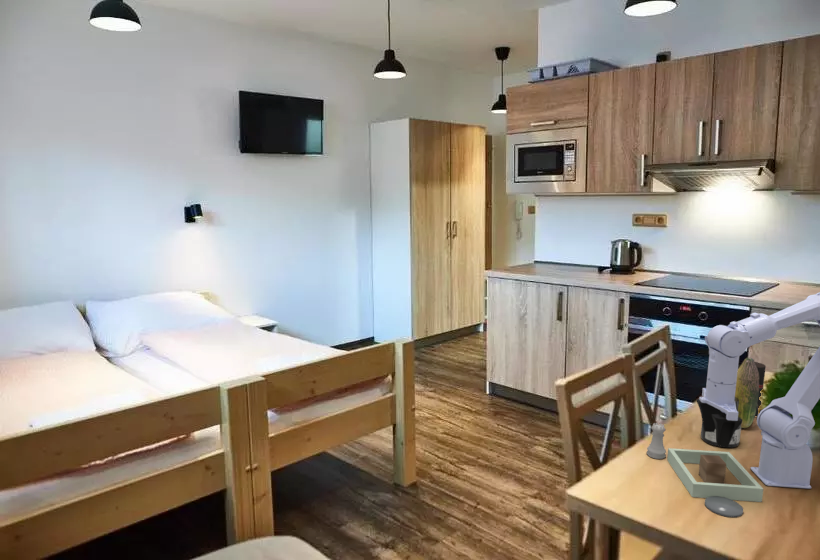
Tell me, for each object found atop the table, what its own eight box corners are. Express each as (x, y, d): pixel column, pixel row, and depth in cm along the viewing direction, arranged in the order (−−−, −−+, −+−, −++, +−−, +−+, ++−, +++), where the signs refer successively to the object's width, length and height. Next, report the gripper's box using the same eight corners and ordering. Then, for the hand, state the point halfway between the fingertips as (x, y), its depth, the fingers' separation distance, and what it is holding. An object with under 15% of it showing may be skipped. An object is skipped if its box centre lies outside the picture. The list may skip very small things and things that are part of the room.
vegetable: (723, 423, 162) (731, 354, 159) (739, 420, 164) (747, 352, 161) (743, 432, 156) (751, 361, 153) (759, 428, 159) (767, 358, 155)
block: (716, 476, 133) (719, 455, 132) (724, 484, 129) (726, 464, 128) (698, 474, 133) (700, 454, 132) (705, 483, 129) (707, 462, 128)
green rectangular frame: (728, 463, 138) (729, 452, 138) (761, 502, 122) (763, 488, 121) (667, 459, 140) (668, 448, 139) (692, 497, 123) (693, 484, 123)
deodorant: (764, 417, 166) (770, 367, 164) (743, 417, 166) (749, 367, 164) (752, 409, 172) (758, 361, 170) (732, 409, 172) (737, 361, 170)
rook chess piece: (667, 460, 140) (670, 429, 138) (648, 458, 140) (650, 427, 139) (663, 452, 144) (666, 422, 143) (644, 450, 145) (647, 420, 143)
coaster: (734, 500, 122) (734, 497, 122) (749, 518, 115) (749, 516, 115) (699, 497, 123) (699, 494, 123) (712, 515, 116) (712, 513, 116)
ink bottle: (705, 447, 147) (709, 402, 145) (694, 432, 156) (698, 390, 154) (746, 450, 146) (751, 405, 144) (732, 435, 154) (737, 392, 152)
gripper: (690, 369, 135) (685, 424, 137) (715, 390, 120) (709, 451, 123) (722, 370, 134) (716, 425, 136) (751, 392, 119) (744, 454, 122)
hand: (715, 438), depth 129 cm, fingers open, 7 cm apart
